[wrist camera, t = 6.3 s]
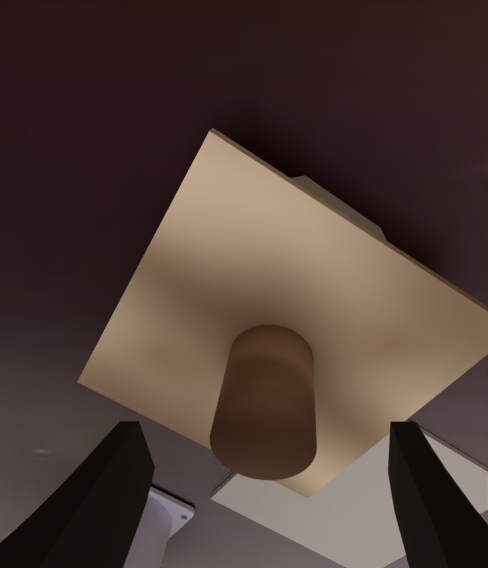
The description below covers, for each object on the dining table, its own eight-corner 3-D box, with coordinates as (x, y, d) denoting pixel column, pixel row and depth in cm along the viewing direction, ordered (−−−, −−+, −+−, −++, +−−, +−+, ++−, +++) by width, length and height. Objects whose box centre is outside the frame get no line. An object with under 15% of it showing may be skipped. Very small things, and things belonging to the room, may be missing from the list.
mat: (364, 571, 32) (365, 576, 31) (211, 493, 29) (210, 498, 29) (517, 485, 25) (520, 491, 25) (335, 376, 23) (336, 381, 22)
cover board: (308, 487, 20) (310, 594, 16) (83, 372, 18) (21, 462, 14) (508, 320, 14) (590, 422, 10) (213, 127, 12) (171, 161, 8)
